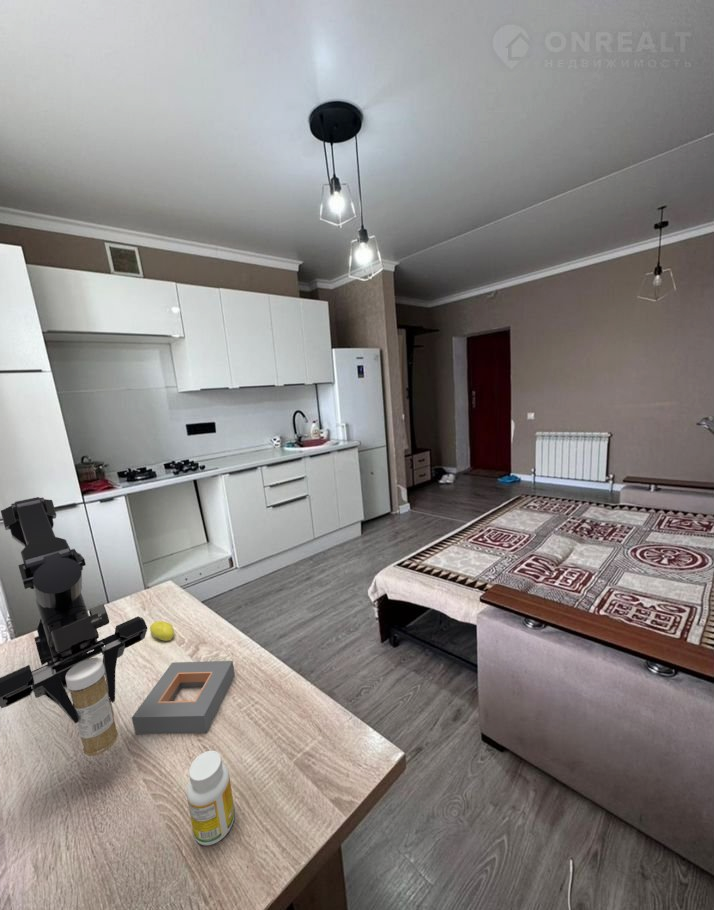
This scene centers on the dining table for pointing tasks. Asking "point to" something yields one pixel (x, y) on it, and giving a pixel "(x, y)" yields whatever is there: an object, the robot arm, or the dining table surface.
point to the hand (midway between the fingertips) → (95, 711)
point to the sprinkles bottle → (92, 706)
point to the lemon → (162, 630)
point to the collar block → (184, 715)
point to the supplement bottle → (210, 798)
